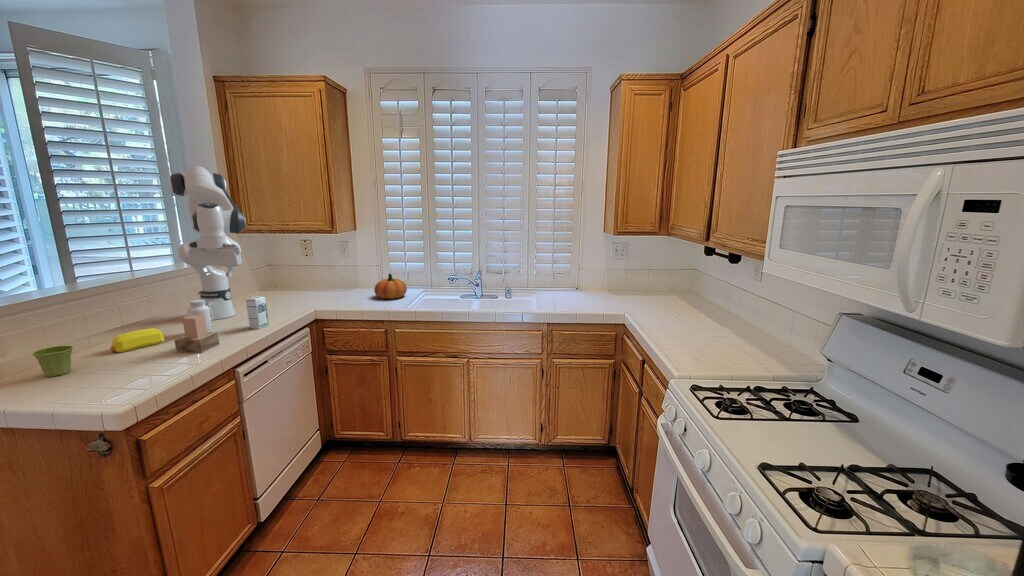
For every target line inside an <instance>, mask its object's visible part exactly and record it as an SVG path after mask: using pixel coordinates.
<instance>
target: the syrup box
mask: <svg viewBox="0 0 1024 576" xmlns="http://www.w3.org/2000/svg"><path fill="white" fill-rule="evenodd" d="M245 303H246V304H245V305H246V313H247V318H248V325H249V329H254V328H256V330H257V329H259V330H260V329H264V328H266V327H268V326H270V324H269V317H268V311H267V309H268V308H267V301H266V297H265V296H263V295H262V296H261V295H257V296H252V297H249V298H246V299H245Z"/></svg>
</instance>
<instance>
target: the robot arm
mask: <svg viewBox="0 0 1024 576" xmlns="http://www.w3.org/2000/svg"><path fill="white" fill-rule="evenodd" d="M168 186H169V188H170V190H171V191H172V192H173V195H174V194H175V195H176V196H180V197H185V196H187V197H188V202H187V203H188V212H189V219H190V224H191V227H192V229H193V231H194V232H197V233H198V234H199V235H198V236H199V239H196V240H194V241H189V242H188V241H187V242H184V243H181V244H180V245H179V246H178V248H177V256H178V258H179V260H180V261H181V262H183V263H184V264H186V265H189V266H190V267H191V268H193V269H194V271H196V273H197V274H198V276H199V279H200V282H201V287H202V290H200V291H198V292H197V295H198V296H199V295H200V296H199V298H198V299H197V300H205V306H208V307H209V309H210V317H211V321H214V320H215V321H216V320H221V319H226V318H230V317H234V316H237V312H236V310H235V307H234V305H233V301H232V291H231V288H230V284H229V278H231V277H233V271H234V269H235V267H239V266H242V265H243V259H242V255H241V253H242V248H241V246H240V245H239V242H237V241H235V240H233V239H231V237H229V236H227V234H241V232H243V231H244V230H245V229H246V222H247V221H246V218H245V216H244V214H243V213H242V211H240V210H239V208H238V207H237V205H236V204H235V202H234V201H233V199H232V198H231V196H230V195H229V193H228V192H227V191H226V190H227V186H228V185H227V181H226V180H225V178H224V176H223V175H222V174H220V173H215V172H212V173H211V172H209V170H207V169H206V167H202V166H200V165H192V166H189V167H187V169H186V170H185V172H177V173H172V174H171V175H170V176H169V180H168ZM221 208H222V209H221ZM223 209H224V210H223ZM216 266H217V267H226V268H227V269H228V270H227V272H226V271H224V270H223V269H219V268H216ZM190 307H191V306H190V305H189V307H188V308H190ZM185 317H188V314H186V315H184V316H183V318H185Z"/></svg>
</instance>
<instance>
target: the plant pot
mask: <svg viewBox="0 0 1024 576" xmlns="http://www.w3.org/2000/svg"><path fill="white" fill-rule="evenodd" d="M73 350H74V346H73V345H57V346H50V347H45V348H41V349H38V350H35V351H34V352H32V353H31V355H32V356H34V357H35V359H36V360H37V362H38V363H39V366H40V367H41V370H42V372H43V374H44V377H49V378H51V377H52V378H53V377H56V376H64V375H67V374H69V373H70V372H71V371H72V354H73Z"/></svg>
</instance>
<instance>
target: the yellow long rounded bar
mask: <svg viewBox="0 0 1024 576" xmlns="http://www.w3.org/2000/svg"><path fill="white" fill-rule="evenodd" d="M166 338H167V336H166V334H164V333H163V331H161V330H160V329H158V328H157V329H156V328H155V327H152V328H145V329H144V328H143V329H138V330H133V331H129V332H125V333H121V334H118V335H115V337H114V338H112V341H111V343H112V344H111V346H110V348H109V350H110V351H111V352H117V353H126V352H129V351H133V350H136V349H141V348H144V347H151V346H155V345H159V343H160V344H162V343H164V342H165V341H166Z"/></svg>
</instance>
